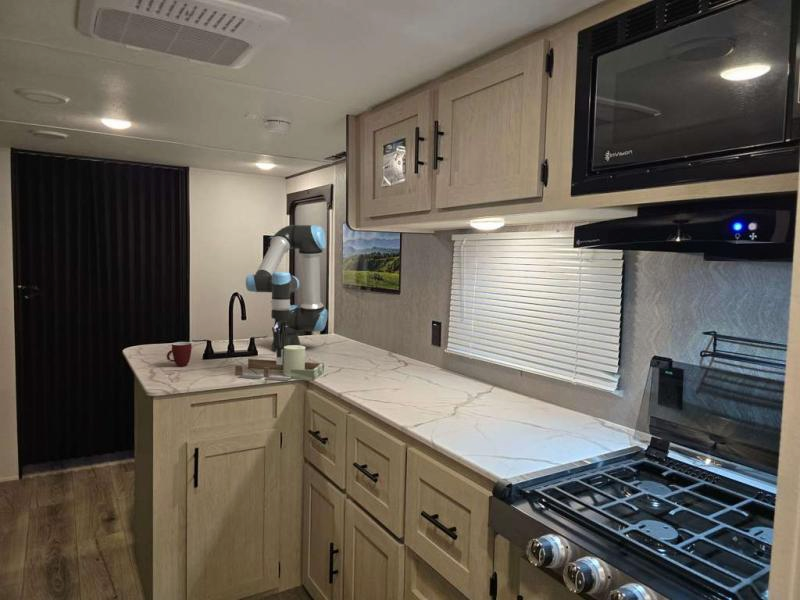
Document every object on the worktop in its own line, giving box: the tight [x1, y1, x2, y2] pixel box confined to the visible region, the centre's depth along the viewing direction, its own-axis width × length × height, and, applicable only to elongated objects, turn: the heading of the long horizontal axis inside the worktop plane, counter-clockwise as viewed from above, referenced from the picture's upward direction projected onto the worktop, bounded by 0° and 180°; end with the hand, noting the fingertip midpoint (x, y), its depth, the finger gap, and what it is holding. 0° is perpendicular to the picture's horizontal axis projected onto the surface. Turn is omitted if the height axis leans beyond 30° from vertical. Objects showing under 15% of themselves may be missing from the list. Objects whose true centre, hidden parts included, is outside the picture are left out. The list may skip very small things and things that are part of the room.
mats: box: [237, 374, 291, 382], centre depth 219 cm, size 4×21×1 cm, turn 82°
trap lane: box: [234, 358, 325, 381], centre depth 228 cm, size 14×34×4 cm, turn 82°
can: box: [282, 345, 306, 377], centre depth 227 cm, size 9×9×12 cm
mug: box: [166, 341, 193, 368], centre depth 236 cm, size 10×8×10 cm
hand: (279, 364), depth 227 cm, fingers closed
